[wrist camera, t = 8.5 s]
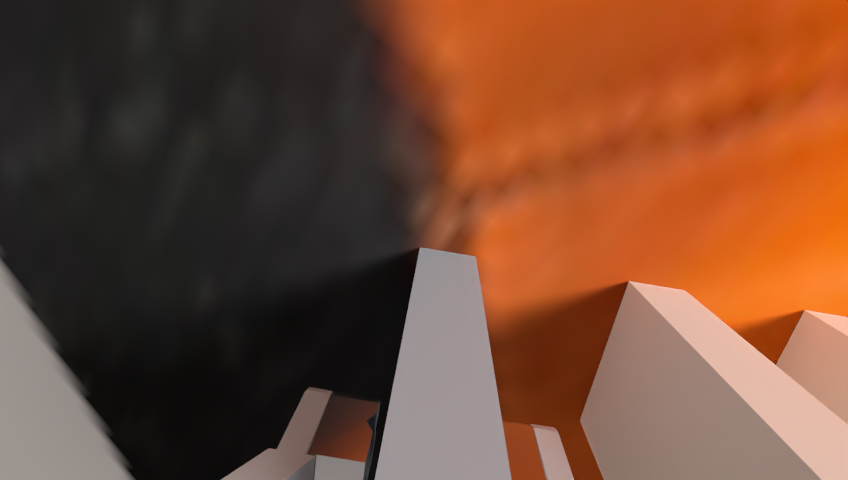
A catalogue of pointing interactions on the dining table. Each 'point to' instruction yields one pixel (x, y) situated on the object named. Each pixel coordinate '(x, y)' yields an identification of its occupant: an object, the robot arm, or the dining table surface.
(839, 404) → the domino
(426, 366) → the domino
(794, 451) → the domino
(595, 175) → the dining table surface
